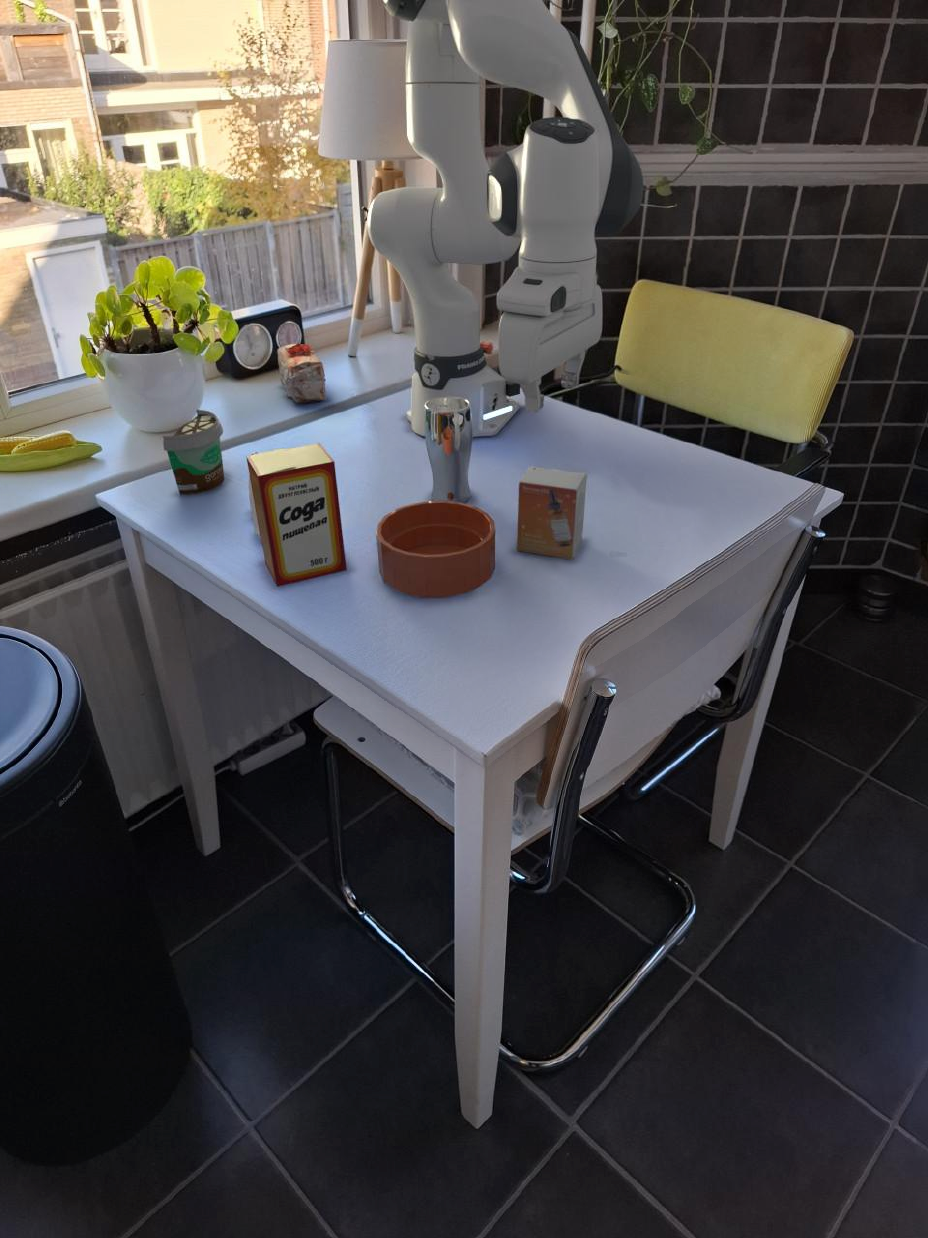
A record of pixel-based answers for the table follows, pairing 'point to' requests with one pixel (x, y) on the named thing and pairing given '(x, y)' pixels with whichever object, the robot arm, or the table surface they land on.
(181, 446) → the food container
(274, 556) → the baking soda box
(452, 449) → the beer glass
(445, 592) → the bowl
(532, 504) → the small box
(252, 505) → the shaker set
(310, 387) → the food item
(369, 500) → the table surface
